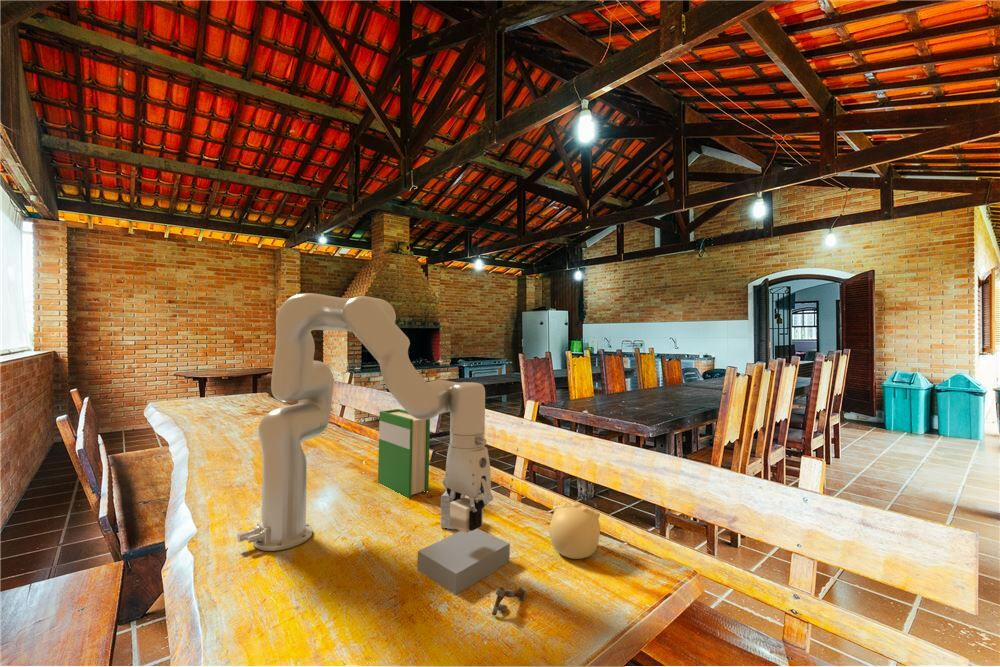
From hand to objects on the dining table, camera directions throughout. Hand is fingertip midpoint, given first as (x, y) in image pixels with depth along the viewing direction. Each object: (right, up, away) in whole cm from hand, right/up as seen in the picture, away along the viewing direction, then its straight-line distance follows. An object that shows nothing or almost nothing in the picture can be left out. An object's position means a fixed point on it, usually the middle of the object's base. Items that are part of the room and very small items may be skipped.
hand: (466, 523), depth 89 cm
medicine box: (-5, -10, +20) cm, 23 cm away
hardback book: (-24, -9, +44) cm, 51 cm away
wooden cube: (0, -1, 0) cm, 1 cm away
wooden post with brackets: (+9, -10, -13) cm, 19 cm away
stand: (0, -9, 0) cm, 9 cm away
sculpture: (+25, -10, +7) cm, 28 cm away
